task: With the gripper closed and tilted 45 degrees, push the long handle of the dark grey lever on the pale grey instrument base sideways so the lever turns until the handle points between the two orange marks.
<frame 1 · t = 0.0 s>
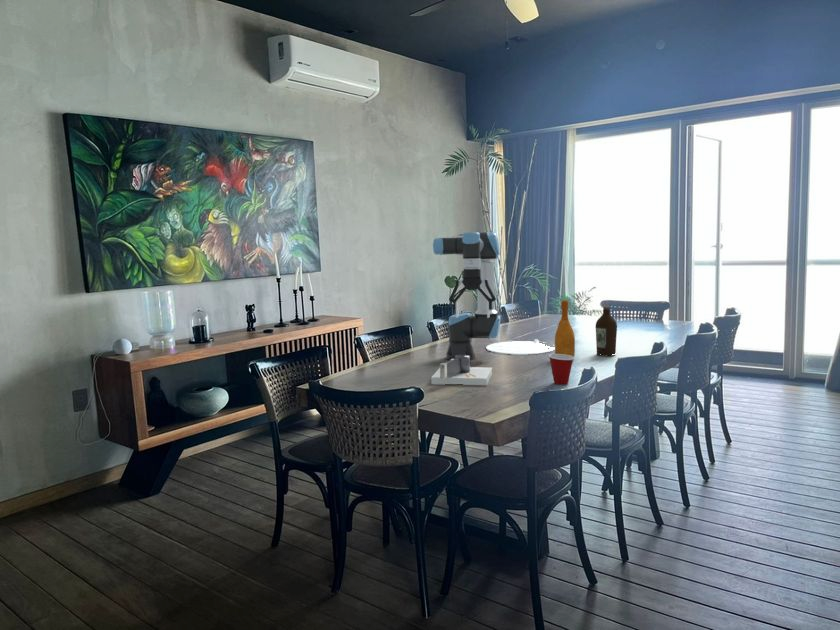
hand: (472, 317, 266), 28 cm above the table, tool pointing down, fingers open, 13 cm apart
wine bottle: (564, 359, 309), on the table
dark grey lever: (454, 366, 267), point 7 cm above the table, hinge at -20.0°
olive oil: (605, 355, 318), on the table
plastic cup: (561, 383, 260), on the table
lazy susan: (521, 349, 343), on the table
instrument base: (462, 378, 274), on the table
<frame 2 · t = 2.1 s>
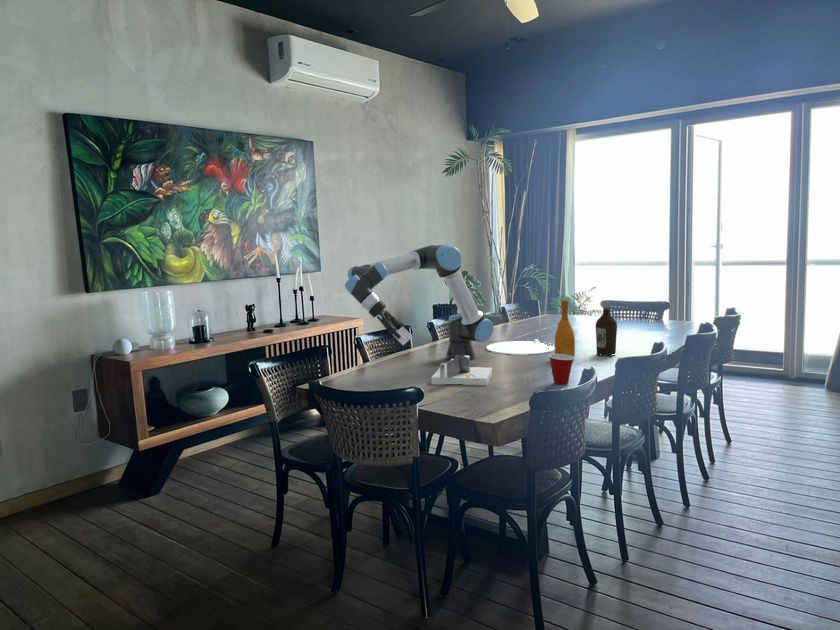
hand: (408, 341, 264), 19 cm above the table, tool tilted 45°, fingers open, 13 cm apart
nothing on the table moved.
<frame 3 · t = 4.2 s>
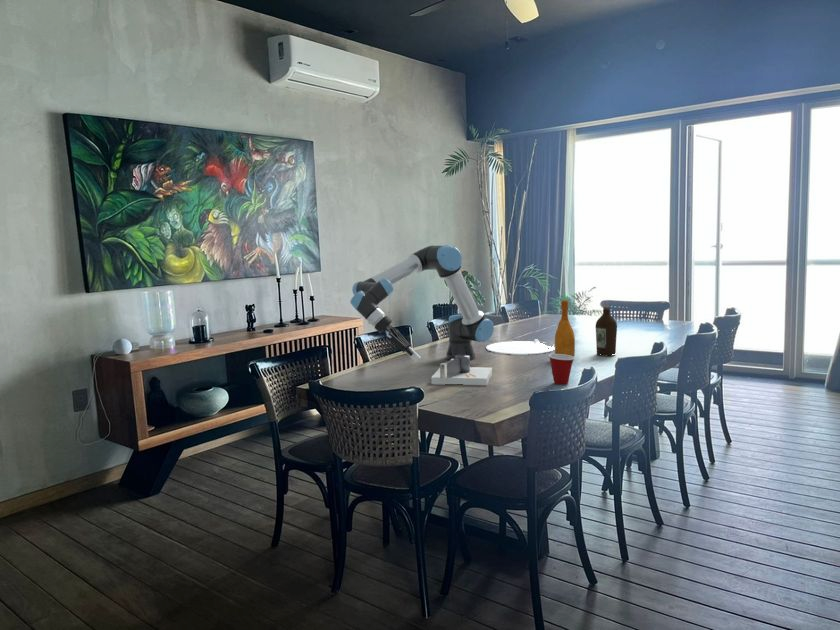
hand: (418, 359, 263), 11 cm above the table, tool tilted 45°, fingers closed
nothing on the table moved.
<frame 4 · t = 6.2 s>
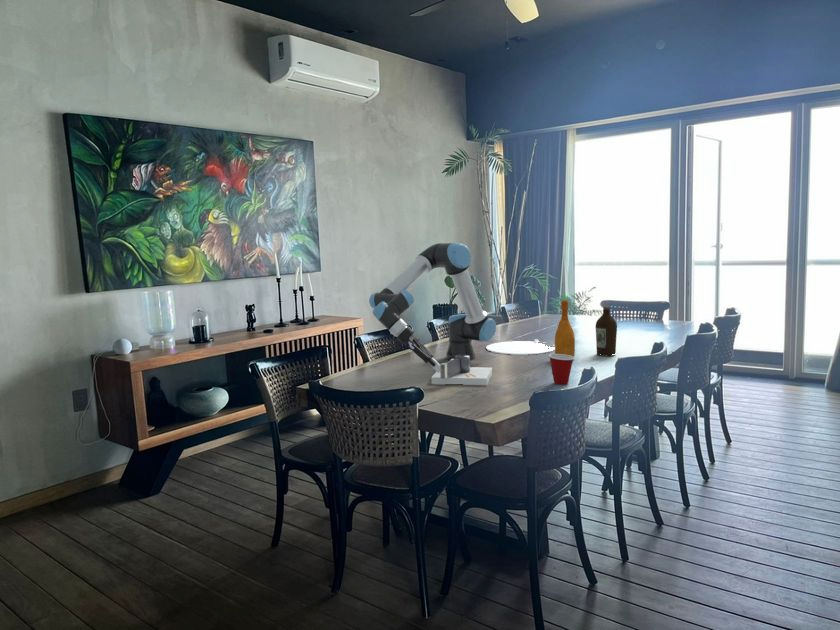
hand: (440, 370, 262), 6 cm above the table, tool tilted 45°, fingers closed
dark grey lever: (454, 366, 267), point 7 cm above the table, hinge at -19.6°, touching gripper
everything else where it was.
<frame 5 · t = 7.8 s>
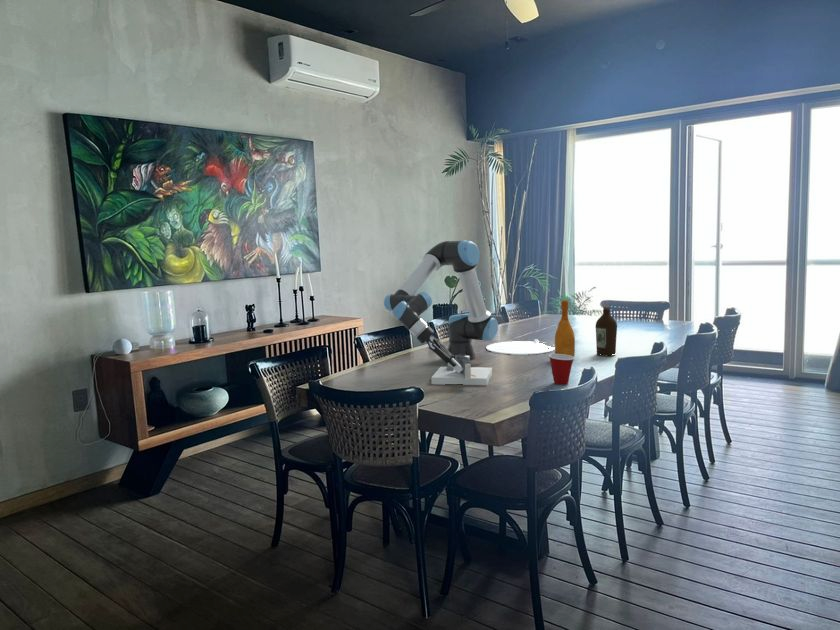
hand: (461, 371, 260), 6 cm above the table, tool tilted 45°, fingers closed
dark grey lever: (464, 366, 266), point 7 cm above the table, hinge at 15.7°, touching gripper
everything else where it was.
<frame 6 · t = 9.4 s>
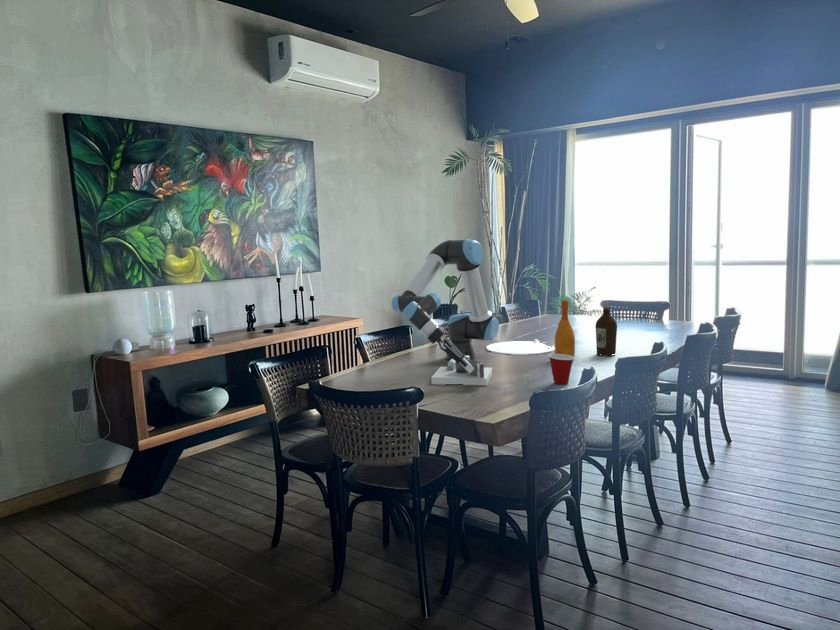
hand: (472, 370, 259), 6 cm above the table, tool tilted 45°, fingers closed
dark grey lever: (470, 366, 266), point 7 cm above the table, hinge at 34.6°, touching gripper
everything else where it was.
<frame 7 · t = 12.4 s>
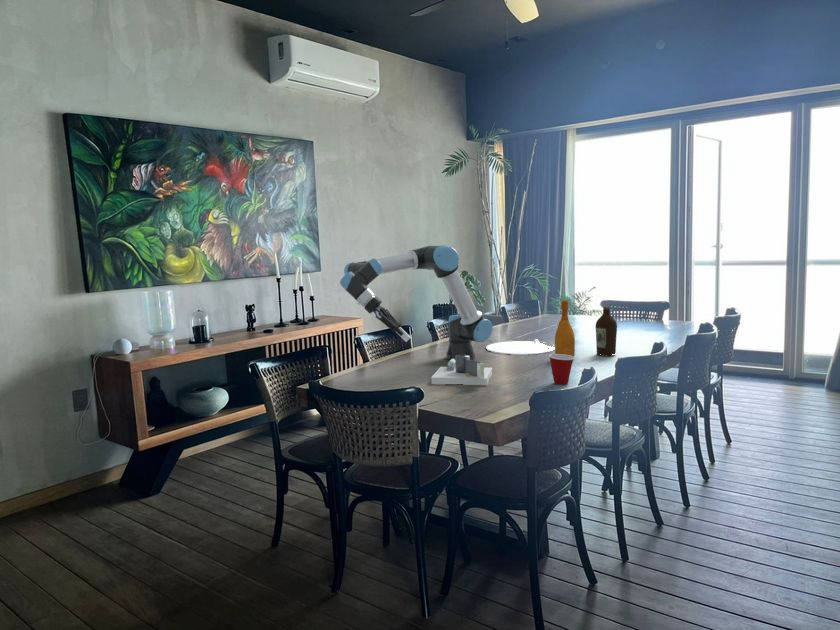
hand: (408, 339, 264), 20 cm above the table, tool tilted 45°, fingers closed
dark grey lever: (470, 366, 266), point 7 cm above the table, hinge at 34.6°
everything else where it was.
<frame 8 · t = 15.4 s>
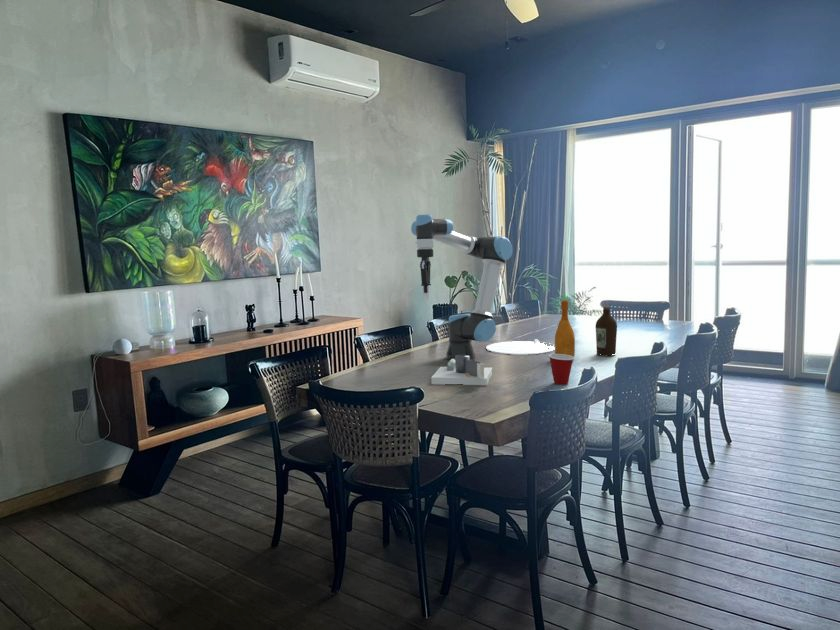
hand: (426, 299, 284), 34 cm above the table, tool pointing down, fingers closed
nothing on the table moved.
at the end: dark grey lever at +35° (first picture: -20°); plastic cup moved 0.2 cm from its start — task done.
